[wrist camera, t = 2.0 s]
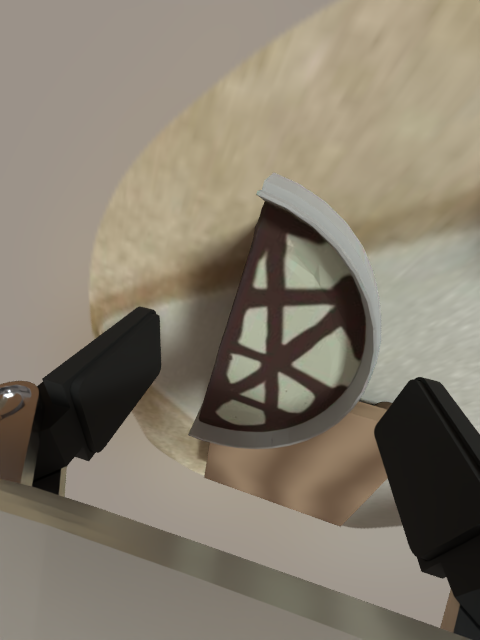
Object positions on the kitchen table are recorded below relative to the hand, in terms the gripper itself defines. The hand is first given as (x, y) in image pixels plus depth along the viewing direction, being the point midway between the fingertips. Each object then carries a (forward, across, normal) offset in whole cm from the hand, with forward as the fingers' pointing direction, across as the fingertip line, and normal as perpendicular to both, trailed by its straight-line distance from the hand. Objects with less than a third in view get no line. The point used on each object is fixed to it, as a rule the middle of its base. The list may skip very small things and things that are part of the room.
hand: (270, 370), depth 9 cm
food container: (+10, -1, 0) cm, 10 cm away
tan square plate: (+9, -5, +16) cm, 19 cm away
